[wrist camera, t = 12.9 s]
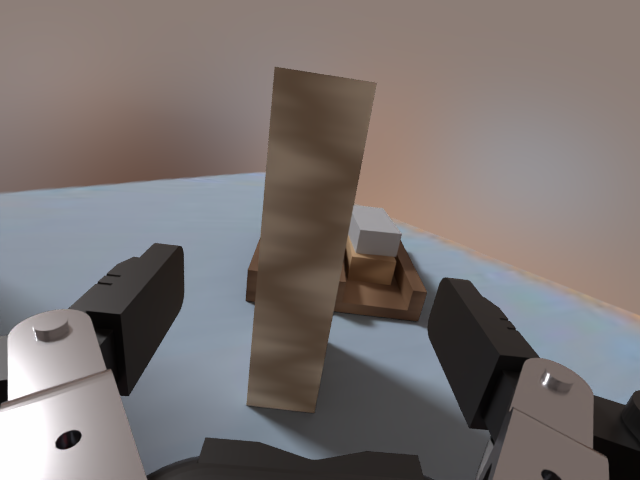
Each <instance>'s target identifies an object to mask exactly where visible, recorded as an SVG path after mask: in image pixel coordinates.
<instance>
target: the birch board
mask: <svg viewBox="0 0 640 480" xmlns="http://www.w3.org/2000/svg"><path fill="white" fill-rule="evenodd" d="M376 85H377V83H375V82H368V81H361V80H355V79H349V78H343V77H336V76H330V75H324V74H317V73H311V72H305V71H298V70H291V69H285V68H279V67H275V70H274V82H273V94H272V106H271V118H270V130H269V141H268V153H267V154H268V155H267V165H266V177H265V189H264V201H263V213H262V225H261V237H260V249H259V261H258V273H257V285H256V297H255V309H254V321H253V333H252V345H251V357H250V369H249V381H248V393H247V405H249V406H257V407H266V408H274V409H283V410H291V411H300V412H309V413H314V412H315V407H316V402H317V396H318V391H319V386H320V381H321V375H322V370H323V365H324V359H325V354H326V349H327V344H328V338H329V333H330V328H331V322H332V317H333V312H334V307H335V301H336V296H337V291H338V285H339V280H340V275H341V270H342V264H343V259H344V254H345V248H346V243H347V238H348V233H349V227H350V222H351V217H352V211H353V206H354V200H355V195H356V190H357V185H358V180H359V174H360V169H361V163H362V159H363V153H364V148H365V143H366V137H367V132H368V127H369V121H370V116H371V111H372V106H373V100H374V95H375V89H376Z"/></svg>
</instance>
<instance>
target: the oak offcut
mask: <svg viewBox="0 0 640 480" xmlns="http://www.w3.org/2000/svg"><path fill="white" fill-rule="evenodd" d="M344 259H345V266H346V274H347V280H353V281H361V282H369V283H377V284H385V285H391V281H392V277H393V274H394V270H395V266H396V260H395V258H394V257H393V256H382V255H371V254H360V253H355V250H354V248H353V245H352V243H351V240H350V238H349V235H348V238H347V243H346V248H345V254H344Z"/></svg>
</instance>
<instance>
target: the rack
mask: <svg viewBox="0 0 640 480" xmlns="http://www.w3.org/2000/svg"><path fill="white" fill-rule="evenodd" d="M259 249H260V240H259V242H258V245H257V247H256V250H255V253H254V255H253V258H252V260H251V263H250V266H249V268H248V275H247V289H246V301H252V302H255V297H256V285H257V273H258V261H259ZM394 258H395V260H396V266H395V270H394V274H393V277H392V281H391V285H385V284H377V283H369V282H361V281H353V280H347V274H346V266H345V259H343V264H342V270H341V275H340V280H339V285H338V291H337V296H336V301H335V307H334V311H335V312H344V313H352V314H360V315H369V316H377V317H385V318H394V319H402V320H410V321H418V320H419V317H420V314H421V311H422V307H423V304H424V301H425V297H426V294H427V291H426V289H425V287H424V285H423V283H422V281H421V279H420V277H419V275H418V273H417V271H416V269H415V267H414V266H413V264H412V262H411V260H410V258H409V256H408V254H407V252H406V250H405V248H404V246H403V244H402V242H401V240H400V243H399V247H398V251H397V255H396V257H394Z"/></svg>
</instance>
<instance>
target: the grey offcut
mask: <svg viewBox="0 0 640 480" xmlns="http://www.w3.org/2000/svg"><path fill="white" fill-rule="evenodd" d="M348 235H349V238H350V240H351V243H352V245H353V248H354V250H355V253H360V254H371V255H382V256H393V257H396V255H397V251H398V247H399V243H400V240H401V236H402V233H401V232H400V231H399V229H398V228H397V227H396V225H395V224H394V223H393V221H392V220H391V219H390V217H389V216H388V215H387V213H386V212H385V210H384V209H383V208H374V207H365V206H356V205H354V206H353V211H352V217H351V222H350V227H349V233H348Z"/></svg>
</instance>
